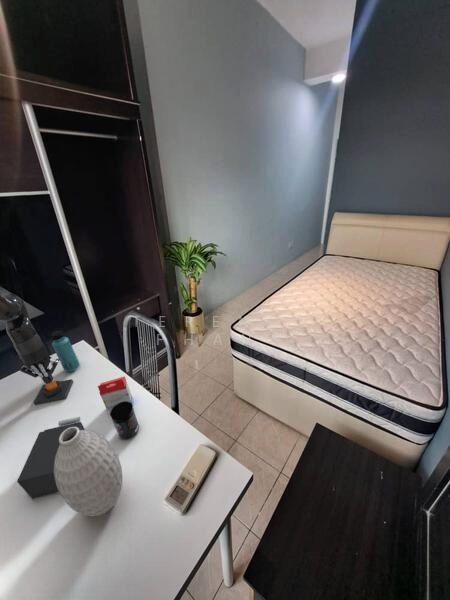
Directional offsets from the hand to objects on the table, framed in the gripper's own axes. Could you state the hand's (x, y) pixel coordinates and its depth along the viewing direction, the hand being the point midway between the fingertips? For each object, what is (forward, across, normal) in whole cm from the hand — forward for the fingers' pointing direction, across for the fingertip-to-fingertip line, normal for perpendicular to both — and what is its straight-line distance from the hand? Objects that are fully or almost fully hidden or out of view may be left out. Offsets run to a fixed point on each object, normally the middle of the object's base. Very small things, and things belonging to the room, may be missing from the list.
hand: (49, 381), depth 96 cm
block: (+6, 0, 0) cm, 6 cm away
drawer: (+5, -13, +28) cm, 31 cm away
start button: (+3, 0, 0) cm, 3 cm away
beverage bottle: (+6, -3, -13) cm, 15 cm away
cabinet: (+6, -13, +32) cm, 35 cm away
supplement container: (+6, -31, +25) cm, 40 cm away
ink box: (+6, -27, +14) cm, 31 cm away
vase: (+6, -27, +44) cm, 52 cm away
